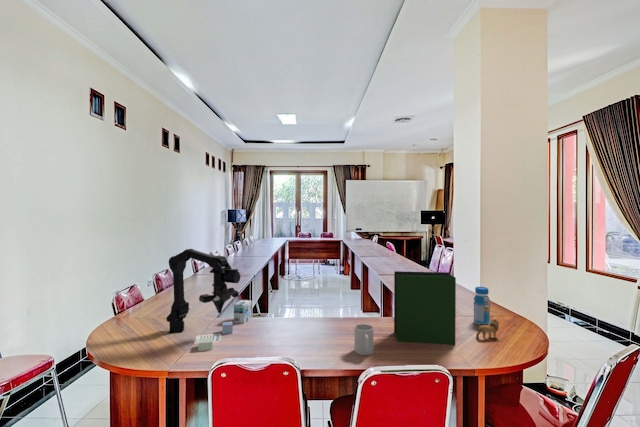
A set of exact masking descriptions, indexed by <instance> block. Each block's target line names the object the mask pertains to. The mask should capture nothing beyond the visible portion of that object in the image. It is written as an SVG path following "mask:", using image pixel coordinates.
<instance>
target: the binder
mask: <svg viewBox="0 0 640 427" xmlns="http://www.w3.org/2000/svg"><path fill="white" fill-rule="evenodd" d="M393 276H394V277H393V278H394V281H393V282H394V286H393V287H394V288H393V290H394V292H393V294H394V296H393V297H394V298H393V300H394V301H393V302H394V303H393V306H394V307H393V308H394V309H393V310H394V312H393V313H394V315H393V320H394V321H393V322H394V323H393V325H394V326H393V332H394V336H395V340H396V342H397V343H411V344H412V343H413V344H426V345H427V344H429V345H443V346H444V345H445V346H456V315H457V314H456V313H457V312H456V309H457V308H456V307H457V306H456V305H457V304H456V302H457V298H456V296H457V295H456V294H457V291H456V290H457V289H456V286H457V285H456V283H457V282H456V281H457V280H456V279H457V278H456V277H455V276H453V275H452V274H451V273H450V272H447V271H445V272H444V271H443V272H440V271H401V270H400V271H396V270H395V271H394V275H393Z"/></svg>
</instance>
